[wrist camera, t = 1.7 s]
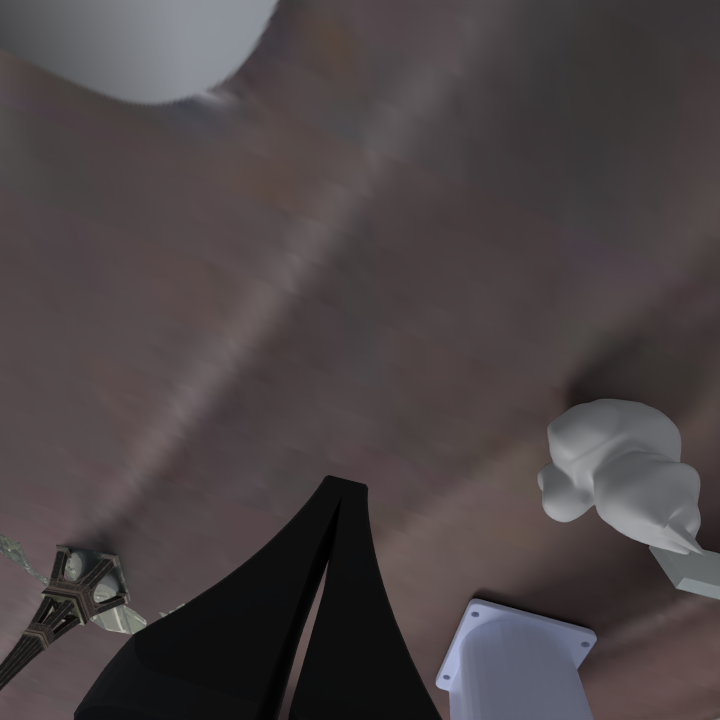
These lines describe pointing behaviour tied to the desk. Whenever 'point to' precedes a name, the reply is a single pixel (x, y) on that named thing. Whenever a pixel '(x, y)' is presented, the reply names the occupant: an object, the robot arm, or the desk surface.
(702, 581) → the bay
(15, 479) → the desk surface
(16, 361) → the desk surface
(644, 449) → the rubber duck
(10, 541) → the eiffel tower figurine
